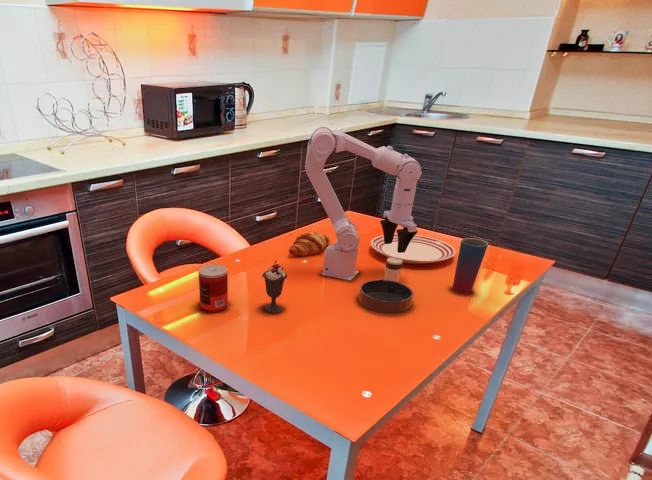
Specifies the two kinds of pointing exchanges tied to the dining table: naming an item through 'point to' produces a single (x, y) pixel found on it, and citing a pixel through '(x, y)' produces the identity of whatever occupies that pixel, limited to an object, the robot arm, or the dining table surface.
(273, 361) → the dining table surface
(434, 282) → the dining table surface
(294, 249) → the croissant
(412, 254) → the dinner plate
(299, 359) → the dining table surface
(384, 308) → the pan
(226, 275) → the canned food
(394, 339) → the dining table surface
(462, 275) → the cup
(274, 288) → the sundae
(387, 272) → the beige cylinder
